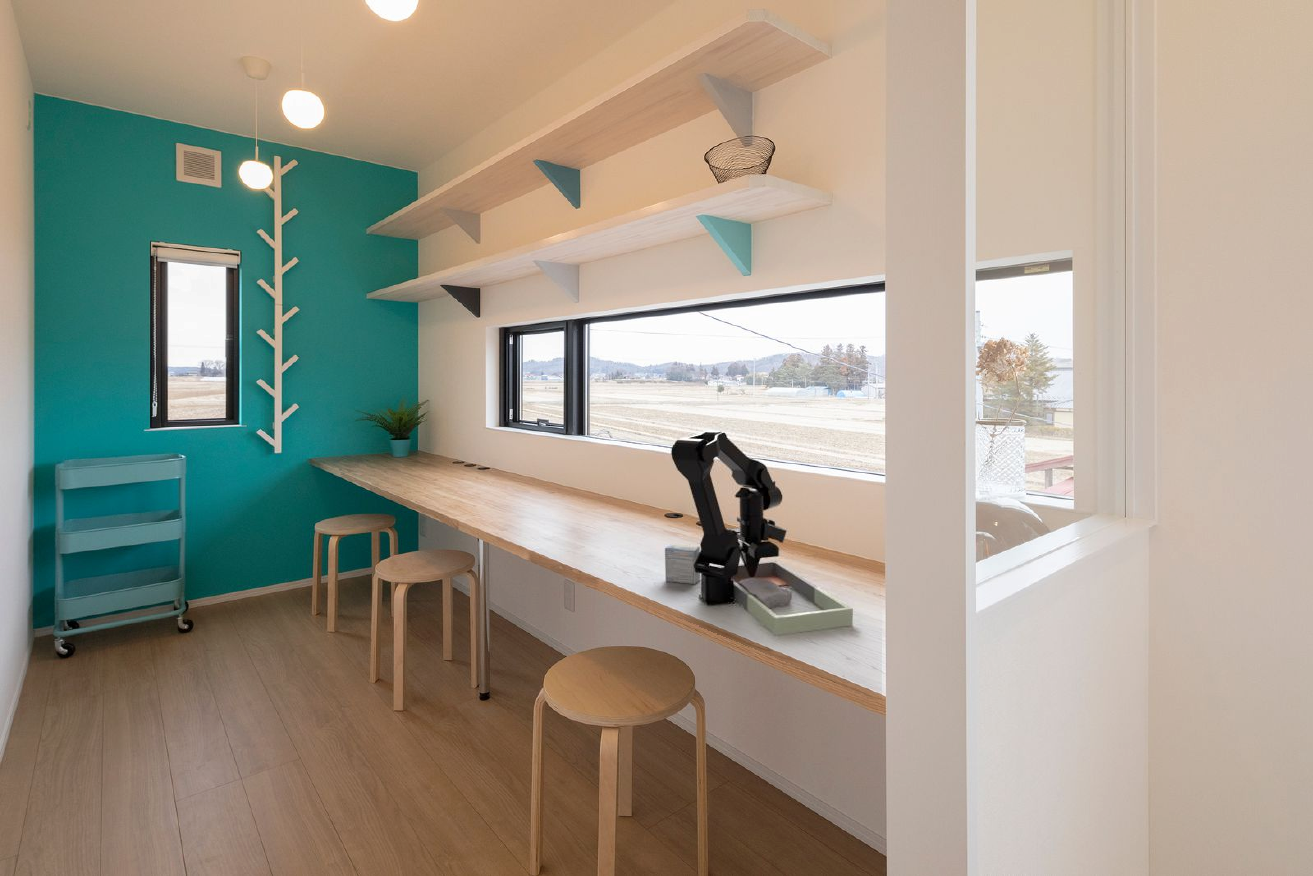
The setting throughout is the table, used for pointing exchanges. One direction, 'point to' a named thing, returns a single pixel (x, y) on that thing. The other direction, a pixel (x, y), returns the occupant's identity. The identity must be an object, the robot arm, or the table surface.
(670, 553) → the medicine box
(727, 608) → the table surface
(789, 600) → the stone block
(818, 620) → the open tray box
